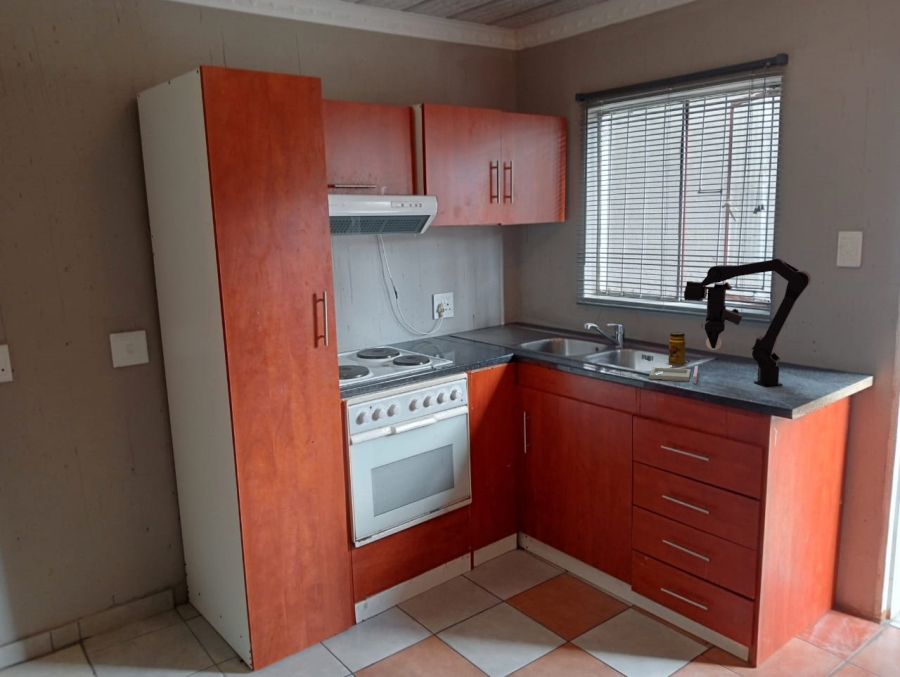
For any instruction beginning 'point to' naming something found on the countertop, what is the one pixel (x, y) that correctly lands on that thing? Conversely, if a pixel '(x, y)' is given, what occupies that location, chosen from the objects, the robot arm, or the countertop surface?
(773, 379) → the robot arm
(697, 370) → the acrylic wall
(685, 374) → the tray
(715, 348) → the ball
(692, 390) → the countertop surface
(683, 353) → the condiment
